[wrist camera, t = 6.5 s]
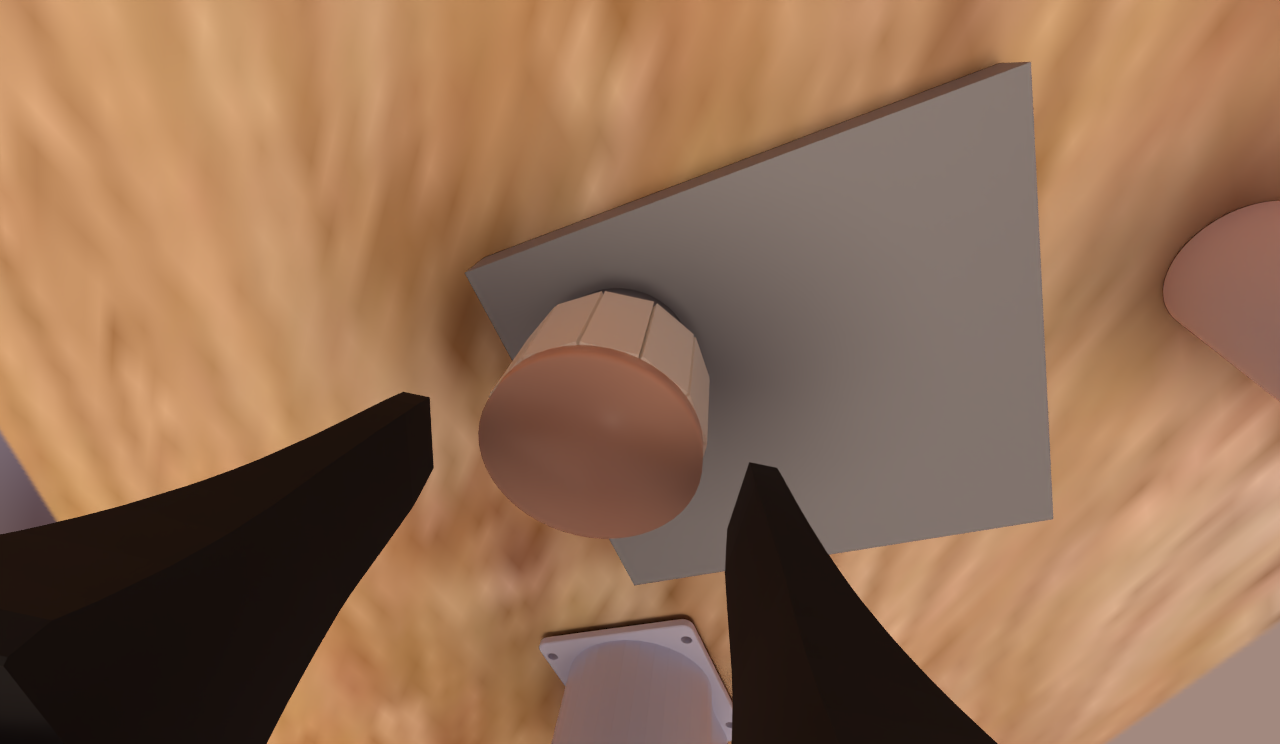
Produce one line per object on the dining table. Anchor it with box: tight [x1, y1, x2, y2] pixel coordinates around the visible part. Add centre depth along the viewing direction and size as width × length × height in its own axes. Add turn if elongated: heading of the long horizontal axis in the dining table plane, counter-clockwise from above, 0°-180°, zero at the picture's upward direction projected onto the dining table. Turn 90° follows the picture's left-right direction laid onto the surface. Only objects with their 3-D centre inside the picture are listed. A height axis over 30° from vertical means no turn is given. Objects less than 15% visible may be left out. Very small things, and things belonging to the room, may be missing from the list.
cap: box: [478, 291, 710, 539], centre depth 14 cm, size 5×5×4 cm
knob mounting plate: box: [465, 62, 1053, 585], centre depth 15 cm, size 14×15×6 cm
